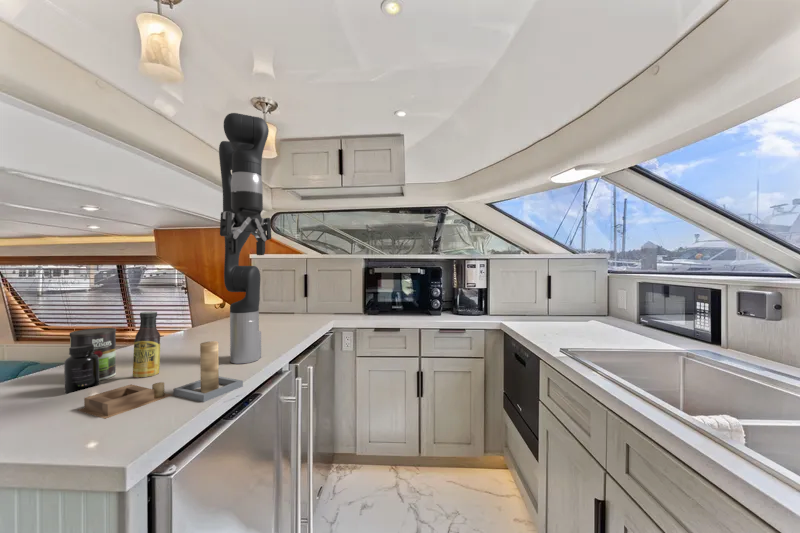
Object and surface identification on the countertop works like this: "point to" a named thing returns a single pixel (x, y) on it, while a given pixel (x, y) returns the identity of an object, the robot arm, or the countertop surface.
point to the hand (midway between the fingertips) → (247, 254)
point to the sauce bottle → (147, 347)
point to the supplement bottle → (81, 368)
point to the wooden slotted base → (122, 400)
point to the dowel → (209, 366)
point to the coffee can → (99, 347)
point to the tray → (203, 397)
